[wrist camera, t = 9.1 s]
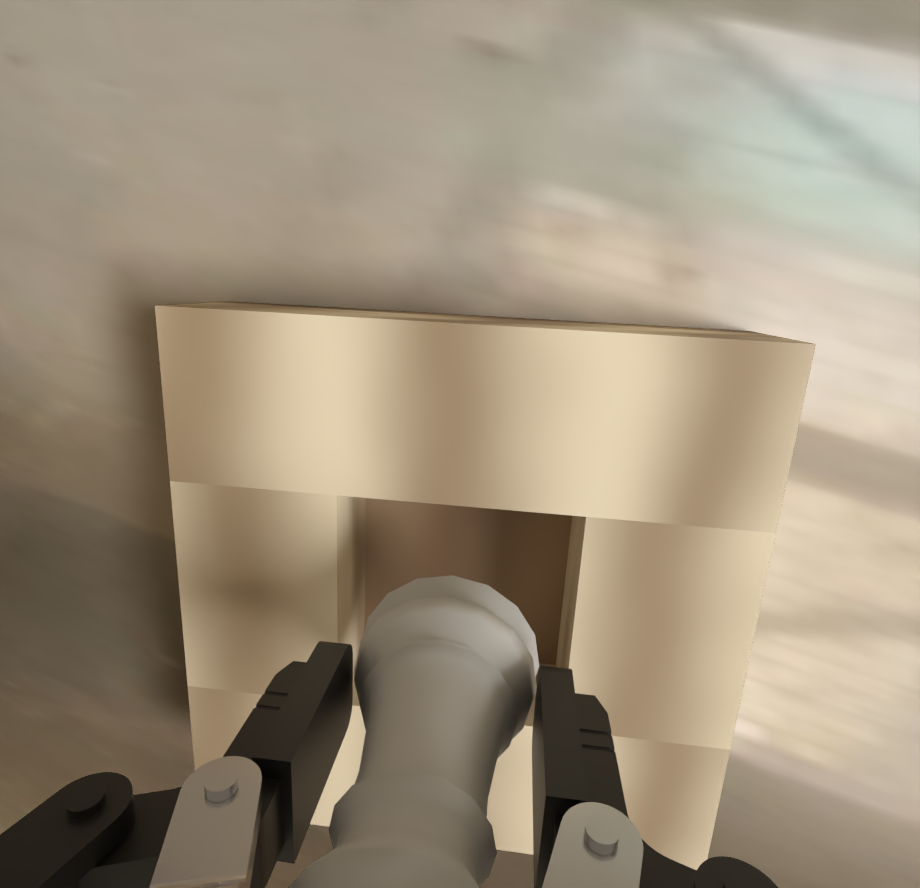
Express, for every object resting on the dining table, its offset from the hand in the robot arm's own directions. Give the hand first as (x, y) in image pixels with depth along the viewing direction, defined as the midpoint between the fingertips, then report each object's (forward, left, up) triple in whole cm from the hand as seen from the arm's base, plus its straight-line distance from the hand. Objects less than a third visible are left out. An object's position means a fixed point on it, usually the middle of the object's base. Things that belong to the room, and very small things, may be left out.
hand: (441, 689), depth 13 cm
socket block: (0, 0, -7) cm, 7 cm away
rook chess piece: (0, 0, -2) cm, 2 cm away
